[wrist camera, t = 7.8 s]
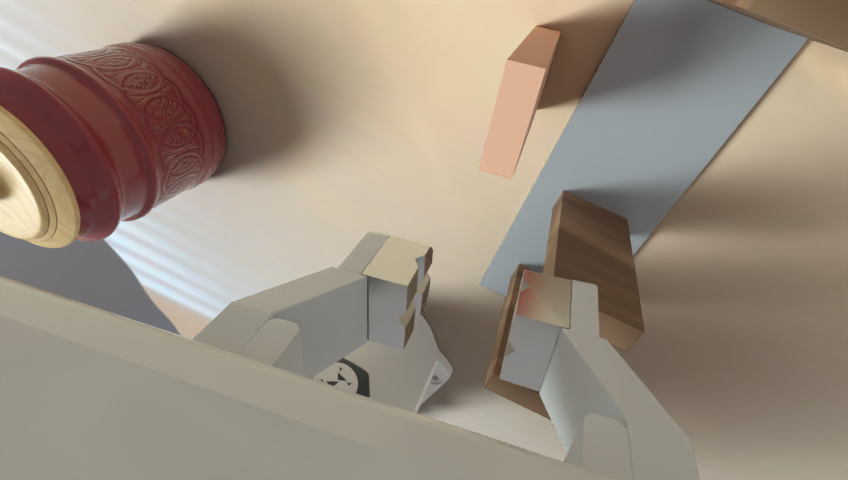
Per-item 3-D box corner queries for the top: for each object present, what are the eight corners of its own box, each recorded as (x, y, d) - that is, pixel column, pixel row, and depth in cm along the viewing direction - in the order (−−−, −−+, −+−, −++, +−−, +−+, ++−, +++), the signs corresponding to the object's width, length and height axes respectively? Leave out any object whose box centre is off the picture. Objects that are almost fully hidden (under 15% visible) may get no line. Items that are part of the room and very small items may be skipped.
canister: (252, 173, 41) (72, 285, 26) (157, 186, 46) (-37, 287, 31) (184, 22, 35) (-94, 64, 21) (84, 57, 40) (-196, 109, 26)
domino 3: (614, 235, 32) (626, 351, 23) (552, 207, 33) (537, 309, 23) (627, 218, 31) (644, 332, 22) (563, 190, 32) (551, 289, 22)
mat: (574, 325, 38) (574, 329, 38) (481, 281, 39) (479, 284, 38) (1039, -257, 17) (1050, -262, 17) (816, -331, 18) (821, -338, 17)
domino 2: (565, 302, 37) (556, 422, 27) (511, 277, 37) (483, 387, 27) (574, 289, 36) (569, 409, 26) (518, 263, 36) (493, 372, 26)
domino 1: (561, 31, 27) (545, 68, 17) (536, 110, 30) (511, 179, 20) (535, 25, 27) (507, 59, 18) (514, 104, 30) (479, 169, 20)
